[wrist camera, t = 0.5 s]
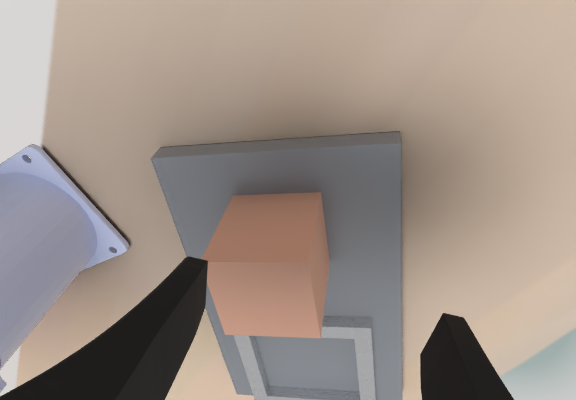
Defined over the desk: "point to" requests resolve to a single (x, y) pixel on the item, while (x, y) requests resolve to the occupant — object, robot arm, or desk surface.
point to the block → (270, 265)
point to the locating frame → (279, 396)
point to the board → (340, 237)
